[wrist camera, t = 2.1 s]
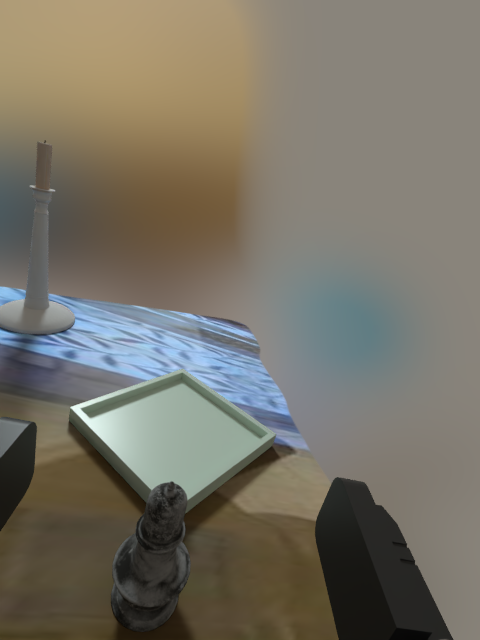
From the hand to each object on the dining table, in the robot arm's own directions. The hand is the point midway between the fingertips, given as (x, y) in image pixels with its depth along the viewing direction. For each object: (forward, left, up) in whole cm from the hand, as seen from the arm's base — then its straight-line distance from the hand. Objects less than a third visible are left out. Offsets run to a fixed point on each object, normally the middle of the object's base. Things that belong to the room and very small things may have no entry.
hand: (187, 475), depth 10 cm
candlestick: (+23, +57, -25) cm, 66 cm away
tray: (+23, +20, -24) cm, 39 cm away
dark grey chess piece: (+9, +7, -24) cm, 27 cm away
